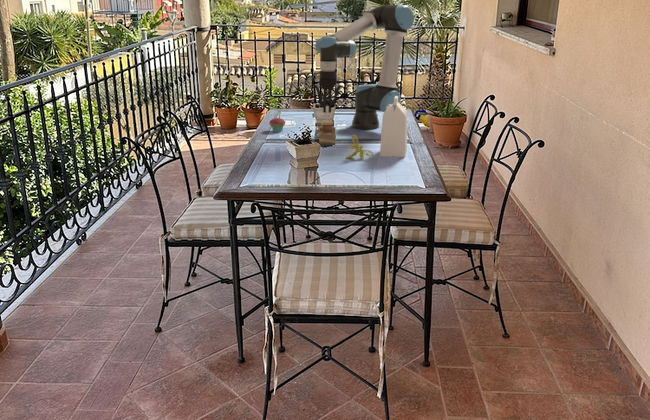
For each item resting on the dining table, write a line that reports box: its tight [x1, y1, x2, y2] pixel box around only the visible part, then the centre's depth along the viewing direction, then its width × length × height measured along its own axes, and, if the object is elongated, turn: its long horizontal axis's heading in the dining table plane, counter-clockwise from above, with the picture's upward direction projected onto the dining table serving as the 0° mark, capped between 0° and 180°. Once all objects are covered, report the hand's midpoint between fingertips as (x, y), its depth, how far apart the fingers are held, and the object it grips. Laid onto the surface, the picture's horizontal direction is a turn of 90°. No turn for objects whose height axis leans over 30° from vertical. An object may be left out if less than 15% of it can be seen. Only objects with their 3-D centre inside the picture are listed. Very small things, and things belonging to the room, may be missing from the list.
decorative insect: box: [345, 134, 375, 160], centre depth 258 cm, size 13×3×10 cm
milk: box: [379, 96, 408, 158], centre depth 264 cm, size 12×12×26 cm
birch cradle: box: [318, 126, 336, 145], centre depth 290 cm, size 16×8×5 cm, turn 179°
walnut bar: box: [322, 121, 333, 133], centre depth 289 cm, size 11×4×4 cm, turn 179°
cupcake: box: [268, 109, 286, 133], centre depth 307 cm, size 9×8×12 cm
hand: (327, 119), depth 283 cm, fingers closed
